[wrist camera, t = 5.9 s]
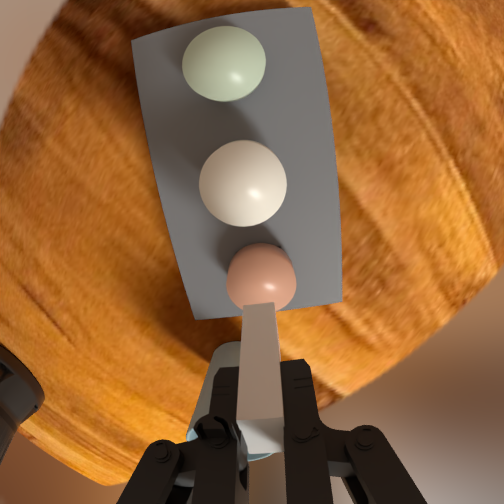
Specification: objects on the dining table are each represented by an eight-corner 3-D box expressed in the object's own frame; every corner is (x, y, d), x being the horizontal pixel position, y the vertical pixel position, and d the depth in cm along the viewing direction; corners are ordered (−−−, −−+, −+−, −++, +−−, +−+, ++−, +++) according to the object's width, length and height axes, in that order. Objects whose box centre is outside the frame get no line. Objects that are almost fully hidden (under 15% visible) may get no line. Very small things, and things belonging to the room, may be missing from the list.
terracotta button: (236, 287, 24) (233, 317, 20) (225, 235, 22) (219, 259, 19) (293, 280, 24) (298, 309, 20) (286, 227, 22) (293, 249, 18)
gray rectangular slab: (200, 299, 26) (195, 320, 24) (146, 48, 17) (131, 40, 15) (333, 282, 25) (342, 301, 23) (304, 20, 16) (310, 7, 14)
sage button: (201, 110, 18) (188, 107, 15) (191, 50, 16) (177, 35, 13) (268, 98, 18) (272, 93, 14) (258, 38, 16) (258, 20, 12)
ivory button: (217, 210, 20) (208, 232, 16) (204, 144, 18) (191, 150, 14) (284, 201, 20) (291, 220, 16) (275, 133, 18) (280, 135, 14)
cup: (187, 346, 29) (166, 430, 20) (253, 321, 27) (252, 412, 18) (225, 388, 32) (218, 465, 22) (286, 368, 30) (294, 451, 21)
